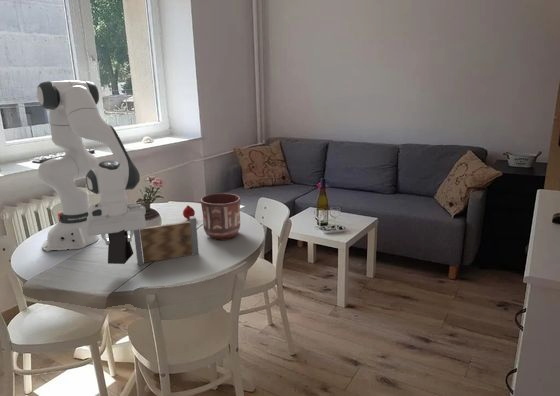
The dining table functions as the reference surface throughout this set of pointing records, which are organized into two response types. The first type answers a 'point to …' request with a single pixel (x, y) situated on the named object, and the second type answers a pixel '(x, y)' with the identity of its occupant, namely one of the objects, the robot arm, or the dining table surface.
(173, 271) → the dining table surface
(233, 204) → the pottery
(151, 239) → the door
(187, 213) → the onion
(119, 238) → the phone stand
